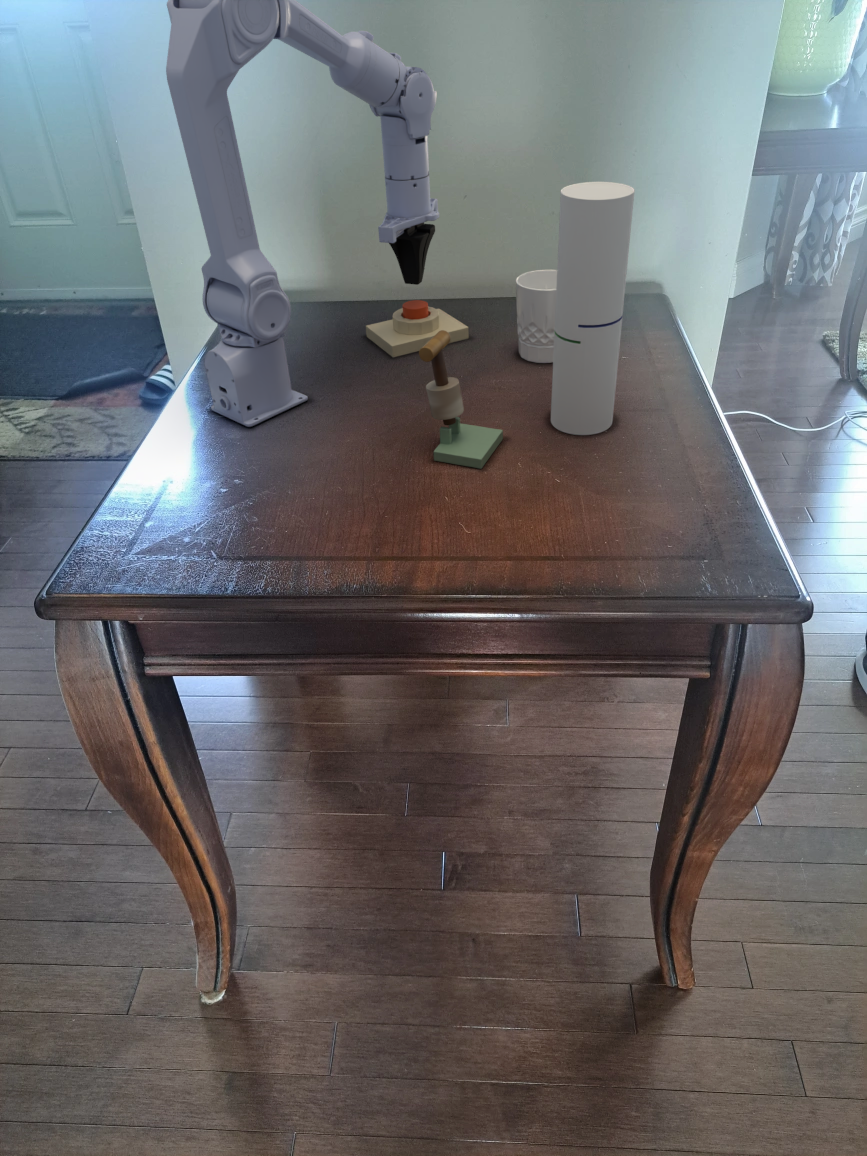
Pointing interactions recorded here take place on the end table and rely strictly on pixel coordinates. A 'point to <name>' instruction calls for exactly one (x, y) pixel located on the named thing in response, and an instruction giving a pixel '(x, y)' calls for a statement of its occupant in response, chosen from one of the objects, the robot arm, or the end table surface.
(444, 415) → the t-handle lever
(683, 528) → the end table surface
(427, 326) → the button box
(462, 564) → the end table surface
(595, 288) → the cylindrical container
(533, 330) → the white cup
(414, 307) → the call button
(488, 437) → the stand
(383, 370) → the end table surface
